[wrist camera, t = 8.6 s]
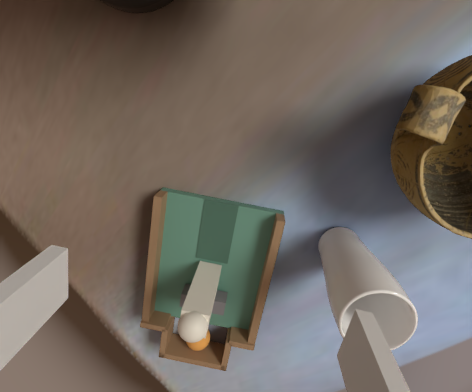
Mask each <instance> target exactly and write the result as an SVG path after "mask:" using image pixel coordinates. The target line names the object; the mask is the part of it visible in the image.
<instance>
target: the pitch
mask: <svg viewBox="0 0 472 392" xmlns="http://www.w3.org/2000/svg"><path fill="white" fill-rule="evenodd" d="M284 225H285V217H284V212H283V211H280V210H275V209H269V208H264V207H259V206H254V205H249V204H244V203H239V202H234V201H229V200H224V199H219V198H214V197H209V196H204V195H199V194H194V193H189V192H184V191H179V190H174V189H168V188H162V189H161V190H160V191H159V192H158V193H156V194H155V195H154V199H153V209H152V220H151V230H150V240H149V250H148V261H147V271H146V281H145V292H144V302H143V312H142V321H141V324H140V327H143V328H147V329H152V330H157V331H162V335H161V343H160V351H159V357H162V358H167V359H171V360H176V361H181V362H185V363H190V364H195V365H200V366H204V367H209V368H214V369H219V370H223V371H226V368H227V363H228V359H229V354H230V350H231V346H234V347H238V348H243V349H248V350H254V346H255V340H256V337H257V333H258V329H259V325H260V321H261V317H262V313H263V309H264V305H265V301H266V297H267V293H268V289H269V285H270V281H271V277H272V273H273V269H274V265H275V261H276V257H277V253H278V249H279V245H280V241H281V237H282V233H283V229H284ZM200 261H203V262H208V263H213V264H218V265H222V268H221V273H220V278H219V283H218V288H217V290H219V291H224V292H228V294H227V300H226V305H225V310H224V315H223V316H222V315H218V314H213V313H211V317H210V322H209V324H212V325H216V326H221V327H226V328H228V330H227V335H226V340H225V344H222V343H217V342H213V341H209V344H208V345H207V346H206V347H205V348H204V349H203V350H200V351H195V350H192V349H191V348H189V347H188V345H187V343H186V341H184V340H183V339H182V338H181V337H180V335H179V334H174V333H173V327H174V320H175V317H178V318H180V316H181V310H182V307H179V305H180V298H181V293H182V291H183V288H184V286H185V284H190V285H191V283H192V281H193V278H194V275H195V273H196V270H197V268H198V265H199V262H200Z"/></svg>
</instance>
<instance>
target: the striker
mask: <svg viewBox="0 0 472 392" xmlns="http://www.w3.org/2000/svg"><path fill="white" fill-rule="evenodd" d="M221 268H222V265H218V264H213V263H208V262H203V261H200V262H199V265H198V268H197V270H196V273H195V275H194V278H193V281H192V283H191V285H190V284H185V286H184V288H183V291H182V293H181V298H180V305H179V307H182V310H181V316H180V319H179V321H178V333H179V335H180V337H181V338H182V339H183V340H184V341H186V342H189V343H195V342H198V341H200V340H202V339H203V338H206V334H207V331H208V326H209V322H210V317H211V313H213V314H218V315H222V316H223V315H224V310H225V305H226V300H227V294H228V292H224V291H219V290H217V288H218V283H219V278H220V273H221Z"/></svg>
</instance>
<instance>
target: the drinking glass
mask: <svg viewBox="0 0 472 392" xmlns="http://www.w3.org/2000/svg"><path fill="white" fill-rule="evenodd" d="M318 250H319V254H320V256H321V261H322V266H323V271H324V277H325V282H326V288H327V293H328V298H329V302H330V306H331V310H332V313H333V316H334V318H335V321H336V324H337V326H338V329H339V331H340V334H341V336H342V337H343V339H344V337H345V334H346V332H347V329H348V326H349V324H350V321H351V319H352V316H353V314H354V311H355V309H358V310H362V311H367V312H372V313H373V315H374V317H375V319H376V321H377V323H378V325H379V327H380V329H381V331H382V333H383V335H384V338H385V340H386V342H387V344H388V346H389V348H390V350H394V349H396V348H398V347H400V346H402V345H403V344H405V343H406V342H407V341H408V340H409V339H410V338H411V337H412V335H413V334H414V332H415V330H416V327H417V322H418V316H417V312H416V309H415V307H414V305H413V304H412V302H411V301H410V299H409V297H408V296H407V294H406V293H405V291H404V290H403V288H402V287H401V285H400V284H399V283H398V281H397V280H396V279H395V277H394V276H393V275H392V274H391V273H390V272H389V270H388V269H387V268H386V267H385V266H384V265H383V264H382V263H381V262H380V261H379V260H378V259H377V258H376V256H375V255H374V254H373V253H372V252H371V251H370V250H369V249H368V248H367V247H366V246H365V245H364V243H363V242H362V241H361V240H360V238H359V237H358V236H357V234H356V233H355V232H353V231H352V230H350V229H348V228H345V227H335V228H332V229H329V230H328V231H326V232H325V233H324V234H323V235H322V236H321V238H320V240H319V244H318Z"/></svg>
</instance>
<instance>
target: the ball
mask: <svg viewBox="0 0 472 392" xmlns="http://www.w3.org/2000/svg"><path fill="white" fill-rule="evenodd" d="M209 341H210V332H209V330H208V331H207V334H206V338H203V339H202V340H200V341H198V342H195V343H189V342H186V343H187V345H188V347H189V348H191V349H192V350H195V351H200V350H203V349H204V348H205V347H206V346H207V345H208V344H209Z"/></svg>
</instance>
